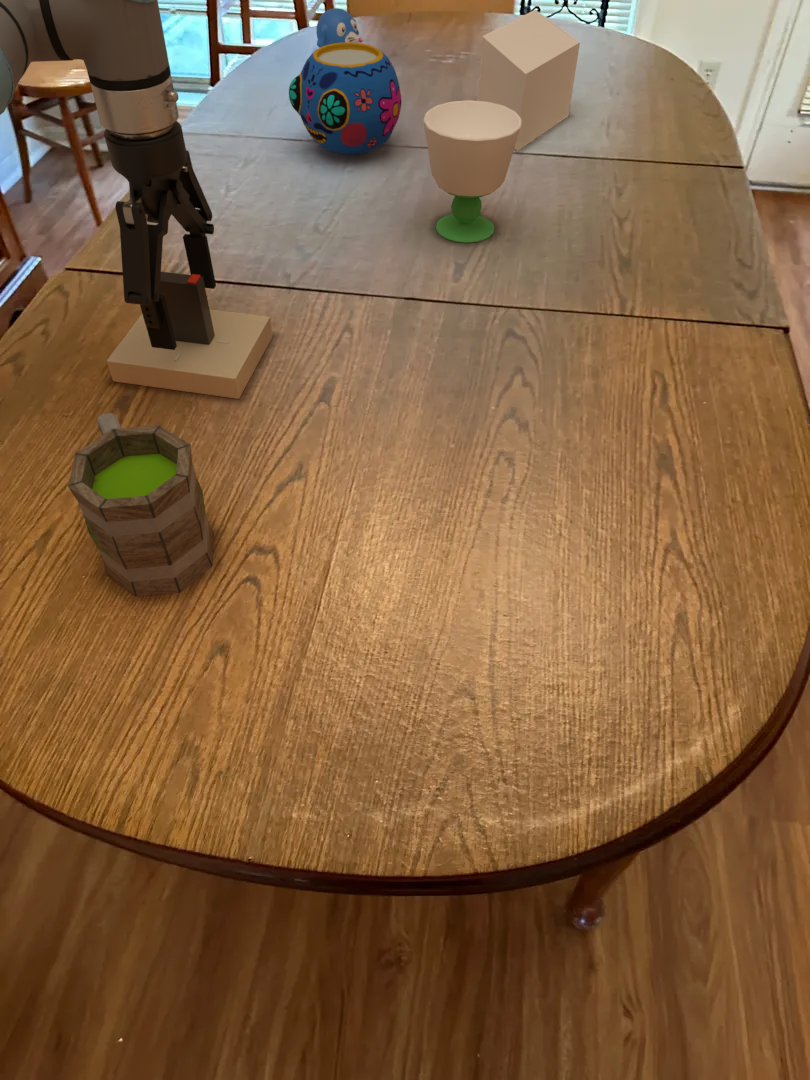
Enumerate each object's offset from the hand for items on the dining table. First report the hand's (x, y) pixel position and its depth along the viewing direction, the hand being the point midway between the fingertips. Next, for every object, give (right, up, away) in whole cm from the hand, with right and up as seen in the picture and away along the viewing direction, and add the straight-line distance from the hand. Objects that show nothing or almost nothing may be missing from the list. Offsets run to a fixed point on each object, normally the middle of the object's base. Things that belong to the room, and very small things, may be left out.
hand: (185, 315), depth 93 cm
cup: (+35, +21, +27) cm, 49 cm away
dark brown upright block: (0, -2, +2) cm, 3 cm away
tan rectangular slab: (0, -4, +5) cm, 6 cm away
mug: (+1, -27, -15) cm, 31 cm away
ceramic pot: (+17, +42, +46) cm, 64 cm away
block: (+49, +55, +57) cm, 93 cm away
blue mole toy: (+13, +78, +76) cm, 110 cm away
